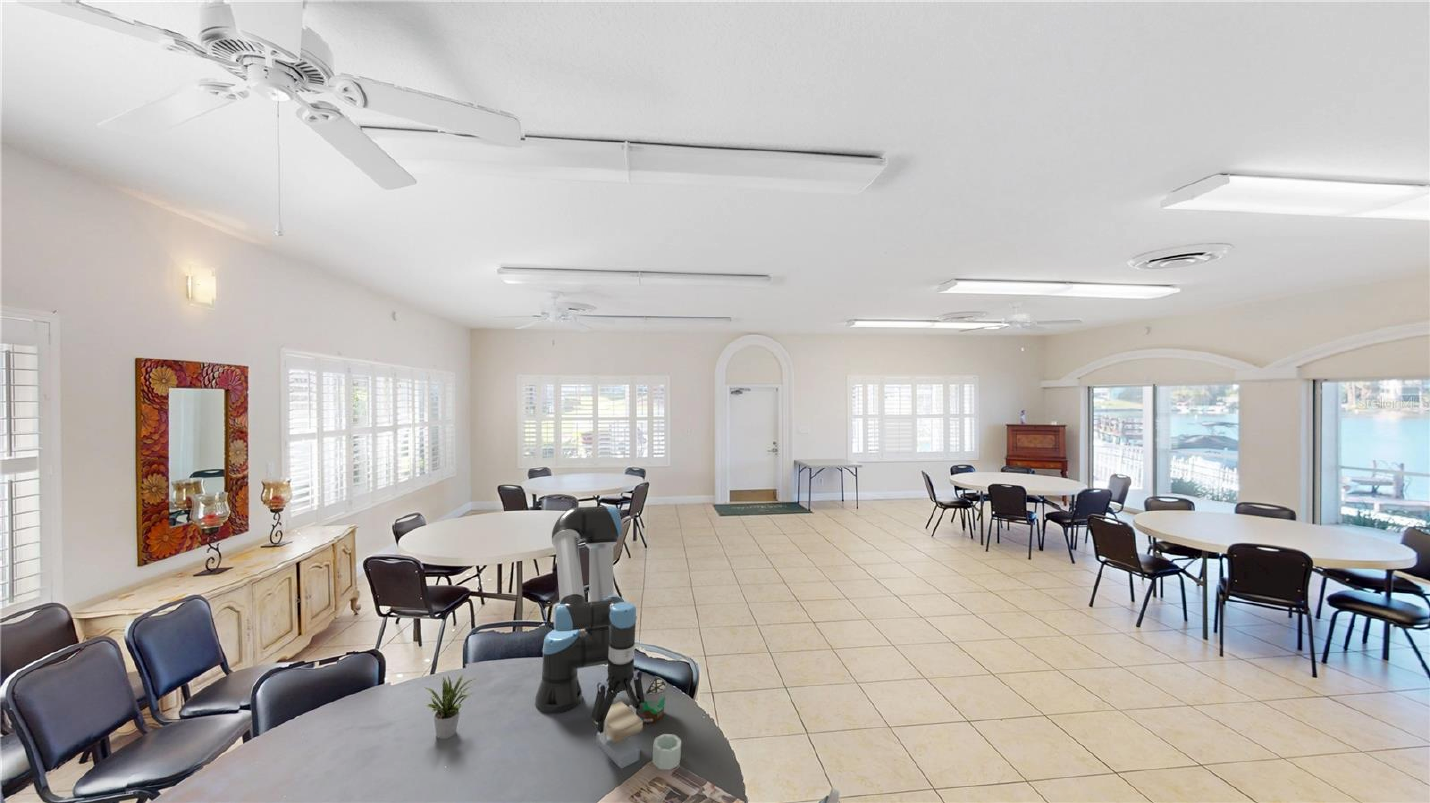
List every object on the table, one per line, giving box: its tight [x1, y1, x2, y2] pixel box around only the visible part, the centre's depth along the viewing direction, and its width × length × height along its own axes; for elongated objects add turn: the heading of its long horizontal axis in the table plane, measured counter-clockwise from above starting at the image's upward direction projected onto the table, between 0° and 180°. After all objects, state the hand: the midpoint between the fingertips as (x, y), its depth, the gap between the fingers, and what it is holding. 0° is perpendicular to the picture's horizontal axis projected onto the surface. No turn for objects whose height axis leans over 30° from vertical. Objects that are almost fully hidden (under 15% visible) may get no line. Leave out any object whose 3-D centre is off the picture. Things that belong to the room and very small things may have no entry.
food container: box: [642, 675, 669, 725], centre depth 168 cm, size 12×6×10 cm, turn 168°
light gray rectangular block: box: [596, 731, 641, 770], centre depth 150 cm, size 14×6×3 cm, turn 41°
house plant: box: [425, 673, 476, 740], centre depth 156 cm, size 14×14×16 cm
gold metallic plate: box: [593, 700, 644, 743], centre depth 151 cm, size 12×9×3 cm
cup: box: [652, 733, 682, 771], centre depth 147 cm, size 8×8×5 cm
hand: (617, 735), depth 151 cm, fingers closed on gold metallic plate, 9 cm apart
